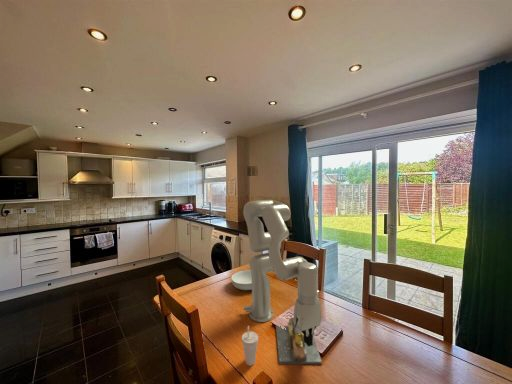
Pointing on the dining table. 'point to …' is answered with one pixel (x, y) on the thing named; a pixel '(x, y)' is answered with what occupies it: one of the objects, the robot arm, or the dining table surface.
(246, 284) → the serving bowl
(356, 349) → the dining table surface
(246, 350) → the smoothie
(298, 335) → the lever
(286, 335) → the valve body
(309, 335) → the robot arm
